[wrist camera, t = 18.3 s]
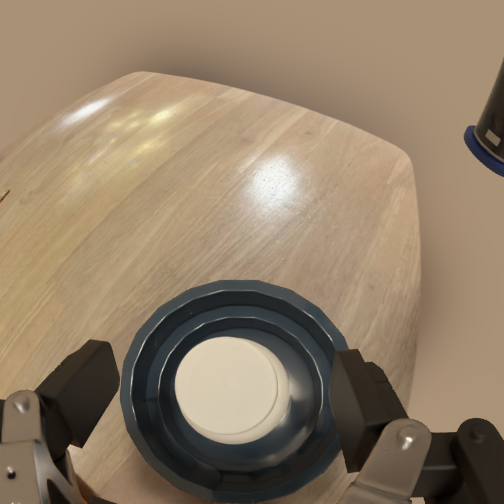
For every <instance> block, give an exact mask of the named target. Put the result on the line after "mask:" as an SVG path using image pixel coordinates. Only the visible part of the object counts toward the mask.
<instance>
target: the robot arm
mask: <svg viewBox="0 0 504 504" xmlns="http://www.w3.org/2000/svg"><path fill="white" fill-rule="evenodd" d="M473 137H474V139H475V141H476V142H477V143H478V145H479V146H480V147H481V148H482V149H483V150H484V151H485V152H486V153H487V154H488V155H489V156H490V157H492V158H493V159H494V160H496V161H497V162H499V163H501V164H503V165H504V58H503V61H502V64H501V67H500V70H499V73H498V75H497V78H496V81H495V83H494V86H493V88H492V91H491V93H490V96H489V98H488V101H487V103H486V105H485V108H484V110H483V112H482V115H481V117H480V119H479V121H478V123H477V125H476V127H475V128H474V130H473ZM119 385H120V376H119V372H118V369H117V365H116V362H115V358H114V354H113V351H112V347H111V345H110V343H109V342H106V341H99V340H92V339H90V340H88V341H87V342H86V343H85V344H84V345H83V346H82V347H81V348H80V349H79V350H78V351H76V352H74V353H72V354H70V355H69V356H67V357H66V358H65V359H64V360H63V361H62V362H61V365H58V366H57V367H56V369H55V371H53V372H52V373H51V374H50V375H49V376H48V377H47V378H46V379H45V380H44V381H43V382H42V383H41V384H40V385H39V386H38V387H37V388H36V390H35V391H34V392H33V391H30V390H20V391H17V392H15V393H13V394H11V395H10V396H9V397H8V398H7V399H6V400H1V399H0V504H86V503H85V501H84V500H83V498H82V496H81V494H80V491H79V488H78V485H77V481H76V477H75V474H74V470H73V465H72V461H71V457H70V453H69V451H68V449H67V448H68V446H69V445H70V444H71V445H74V446H76V447H79V448H83V446H84V444H85V443H86V441H87V439H88V438H89V436H90V434H91V433H92V431H93V430H94V428H95V426H96V425H97V423H98V421H99V420H100V418H101V416H102V415H103V413H104V412H105V410H106V408H107V407H108V405H109V404H110V402H111V400H112V399H113V397H114V396H115V394H116V393H117V391H118V389H119ZM329 400H330V405H331V408H332V412H333V416H334V420H335V424H336V427H337V431H338V435H339V439H340V443H341V447H342V451H343V455H344V459H345V464H346V468H347V472H348V473H353V472H359V474H358V475H357V477H356V479H355V480H354V481H353V482H352V483H351V484H350V485H349V486H348V488H347V489H346V490H345V492H344V493H343V495H342V496H341V498H340V499H339V500H338V502H337V503H336V504H412V500H410V497H423V498H424V501H425V504H504V440H503V438H502V437H501V436H500V434H499V432H498V431H497V429H496V428H495V426H494V425H493V424H492V423H490V422H489V421H487V420H484V419H481V418H472V419H468V420H466V421H465V422H463V423H462V424H461V425H460V427H459V428H458V431H457V432H448V433H433V432H430V430H429V429H428V428H427V426H425V425H424V424H423V423H421V422H419V421H417V420H413V419H409V417H408V415H407V413H406V411H405V410H404V408H403V406H402V404H401V402H400V400H399V398H398V397H397V395H396V393H395V391H394V389H392V386H391V384H390V382H389V381H388V379H387V377H386V375H385V373H384V371H383V370H382V369H381V368H380V367H378V366H377V365H376V364H374V363H373V362H364V360H363V358H362V356H361V354H360V352H359V350H358V349H351V350H337V351H335V354H334V359H333V366H332V372H331V378H330V384H329ZM89 504H116V503H113V502H109V501H106V500H104V499H101V498H98V497H95V496H92V498H91V500H90V502H89Z"/></svg>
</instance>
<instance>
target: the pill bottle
mask: <svg viewBox="0 0 504 504" xmlns="http://www.w3.org/2000/svg"><path fill="white" fill-rule="evenodd" d="M175 393H176V398H177V401H178V403H179V406H180V409H181V412H182V414H183V416H184V417H185V419H186V420H187V422H188V423H189V424H190V425H191V426H192V427H193V428H194V429H195V430H196V431H197V432H198V433H200V434H201V435H203V436H205V437H206V438H209V439H211V440H213V441H216V442H220V443H224V444H243V443H248V442H252V441H255V440H257V439H259V438H261V437H263V436H265V435H266V434H268V433H269V432H270V431H272V430H273V429H274V428H275V427H276V426H277V425H278V423H279V422H280V421H281V419H282V418H283V416H284V414H285V412H286V409H287V406H288V403H289V397H290V386H289V380H288V376H287V373H286V371H285V369H284V367H283V365H282V363H281V362H280V361H279V359H278V358H277V357H276V356H275V355H274V354H273V353H272V352H271V351H270V350H268V349H267V348H266V347H264V346H262V345H260V344H258V343H256V342H253V341H250V340H247V339H242V338H234V337H217V338H212V339H209V340H206V341H204V342H202V343H200V344H198V345H197V346H195V347H194V348H192V349H191V350H190V351H189V352H188V353H187V354H186V356H185V357H184V358H183V360H182V361H181V363H180V365H179V367H178V370H177V373H176V378H175Z"/></svg>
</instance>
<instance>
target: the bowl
mask: <svg viewBox="0 0 504 504" xmlns="http://www.w3.org/2000/svg"><path fill="white" fill-rule="evenodd" d="M217 337H234V338H242V339H247V340H250V341H253V342H256V343H258V344H260V345H262V346H264V347H266V348H267V349H268V350H270V351H271V352H272V353H273V354H274V355H275V356H276V357H277V358H278V359H279V361H280V362H281V363H282V365H283V367H284V369H285V371H286V373H287V376H288V380H289V386H290V397H289V403H288V406H287V409H286V412H285V414H284V416H283V418H282V419H281V421H280V422H279V423H278V425H277V426H276V427H275V428H274V429H273V430H272V431H270V432H269V433H268V434H266V435H265V436H263V437H261V438H259V439H257V440H255V441H252V442H248V443H243V444H224V443H220V442H216V441H213V440H211V439H209V438H206V437H205V436H203V435H201V434H200V433H198V432H197V431H196V430H195V429H194V428H193V427H192V426H191V425H190V424H189V423H188V422H187V420H186V419H185V417H184V416H183V414H182V412H181V409H180V406H179V403H178V401H177V398H176V393H175V378H176V373H177V370H178V367H179V365H180V363H181V361H182V360H183V358H184V357H185V356H186V354H187V353H188V352H189V351H190V350H191V349H192V348H194V347H195V346H197V345H198V344H200V343H202V342H204V341H206V340H209V339H212V338H217ZM337 350H349V348H348V345H347V343H346V340H345V338H344V336H343V335H342V334H341V332H340V331H339V330H338V329H337V328H336V327H335V325H334V324H333V323H332V322H331V321H330V320H329V318H328V317H327V316H326V315H325V314H324V313H323V311H322V310H321V309H320V308H319V307H317V306H316V305H314V304H312V303H311V302H309V301H308V300H306V299H305V298H303V297H301V296H300V295H298V294H297V293H295V292H294V291H292V290H290V289H287V288H283V287H280V286H276V285H273V284H269V283H266V282H262V281H259V280H257V281H256V280H219V281H216V282H212V283H209V284H205V285H201V286H198V287H194V288H191V289H189V290H186V291H185V292H183V293H181V294H180V295H178V296H177V297H175V298H173V299H172V300H170V301H168V302H167V303H165V304H164V305H162V306H160V307H159V308H158V309H157V310H156V311H155V312H154V313H153V315H152V316H151V317H150V318H149V319H148V320H147V321H146V322H145V324H144V325H143V326H142V327H141V328H140V329H139V330H138V332H137V333H136V335H135V337H134V339H133V342H132V344H131V346H130V348H129V351H128V353H127V355H126V357H125V360H124V362H123V363H124V364H123V369H122V379H121V389H120V402H121V407H122V411H123V416H124V420H125V424H126V428H127V431H128V433H129V435H130V437H131V439H132V440H133V442H134V444H135V445H136V447H137V449H138V450H139V452H140V453H141V455H142V457H143V458H144V460H145V461H146V462H147V464H148V465H149V466H151V467H152V468H153V469H154V470H155V471H156V472H158V473H159V474H160V475H161V476H162V477H163V478H165V479H166V480H167V481H168V482H170V483H171V484H172V485H173V486H175V487H176V488H178V489H180V490H182V491H185V492H187V493H190V494H192V495H195V496H197V497H200V498H203V499H205V500H208V501H211V502H217V503H231V504H257V503H262V502H266V501H269V500H273V499H277V498H280V497H284V496H287V495H290V494H293V493H295V492H296V491H298V490H299V489H301V488H302V487H304V486H305V485H307V484H308V483H310V482H311V481H313V480H314V479H316V478H317V477H319V476H320V475H321V474H323V473H324V472H325V471H326V470H327V469H328V467H329V466H330V465H331V463H332V462H333V461H334V459H335V458H336V457H337V455H338V454H339V453H340V451H341V450H342V447H341V443H340V439H339V435H338V431H337V427H336V424H335V420H334V416H333V412H332V408H331V405H330V400H329V384H330V378H331V372H332V366H333V359H334V354H335V351H337Z"/></svg>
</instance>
